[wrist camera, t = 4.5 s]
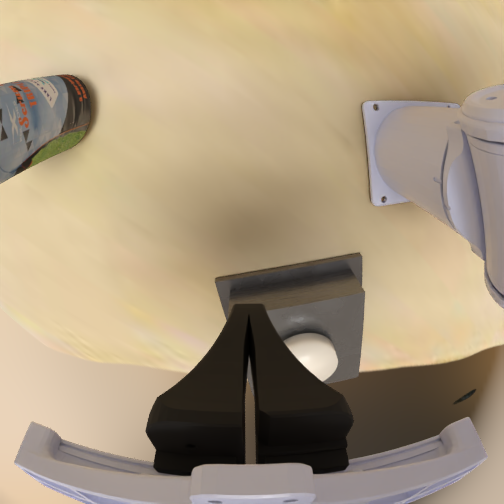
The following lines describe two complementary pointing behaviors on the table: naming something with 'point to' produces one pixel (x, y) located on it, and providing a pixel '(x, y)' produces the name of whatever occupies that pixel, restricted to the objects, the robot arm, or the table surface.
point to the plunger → (314, 353)
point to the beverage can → (40, 120)
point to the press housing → (308, 304)
